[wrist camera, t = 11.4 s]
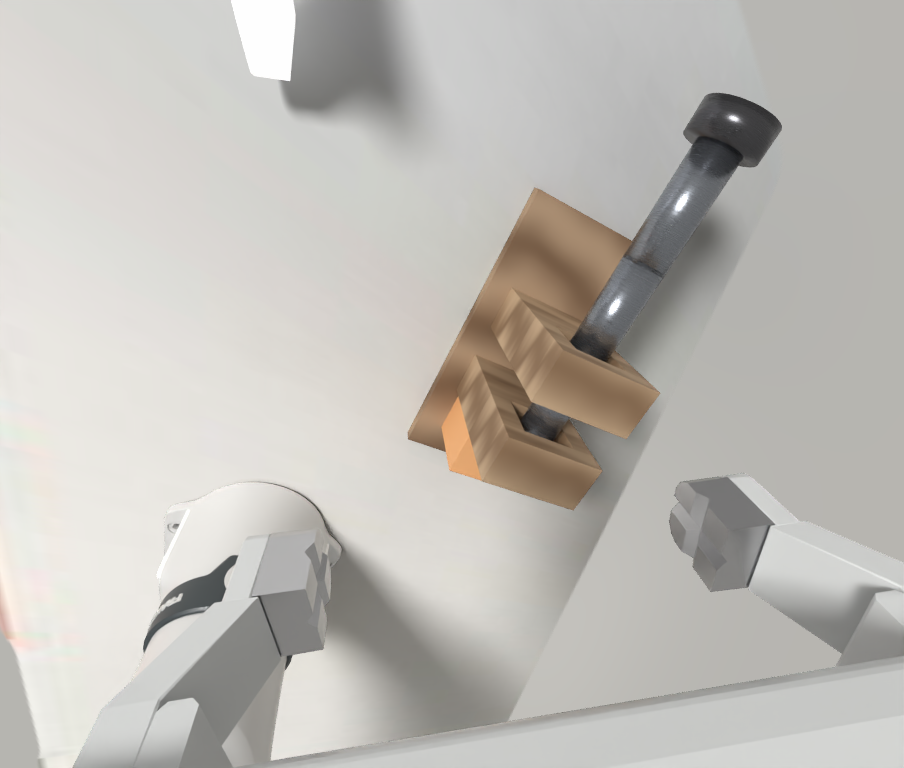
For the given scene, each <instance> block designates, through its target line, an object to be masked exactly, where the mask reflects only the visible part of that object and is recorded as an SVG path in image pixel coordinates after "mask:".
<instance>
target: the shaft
mask: <svg viewBox="0 0 904 768" xmlns="http://www.w3.org/2000/svg"><path fill="white" fill-rule="evenodd" d="M781 129H782V126H781V123H780V122H779V120H778V119H777V118H776V117H775V116H774V115H773V114H771V113H770V112H769V111H767V110H766V109H764V108H763V107H761V106H759V105H757V104H755V103H753V102H751V101H748V100H746V99H743V98H740V97H737V96H734V95H730V94H724V93H711V94H708V95H706V96H705V97H704V99H703V100H702V102H701V104H700V105H699V107H698V109H697V110H696V112H695V113H694V115H693V117H692V118H691V120H690V122H689V123H688V125H687V127H686V128H685V130H684V132H683V134H684V136H685V138H686V139H687V140H688V141H689V142H690V143H691V144H693V145H692V146H691V148H690V150H689V151H688V153H687V154H686V156H685V158H684V159H683V161H682V162H681V164H680V166H679V167H678V169H677V170H676V172H675V174H674V175H673V177H672V178H671V180H670V182H669V183H668V185H667V186H666V188H665V190H664V191H663V193H662V195H661V196H660V198H659V199H658V201H657V203H656V204H655V206H654V207H653V209H652V211H651V212H650V214H649V215H648V217H647V219H646V220H645V222H644V223H643V225H642V227H641V228H640V230H639V231H638V233H637V235H636V236H635V238H634V239H633V241H632V243H631V244H630V246H629V247H628V249H627V251H626V252H625V254H624V255H623V257H622V259H621V260H620V262H619V263H618V265H617V267H616V268H615V270H614V271H613V273H612V275H611V276H610V278H609V279H608V281H607V283H606V284H605V286H604V287H603V289H602V291H601V292H600V294H599V295H598V297H597V299H596V300H595V302H594V303H593V305H592V307H591V308H590V310H589V311H588V313H587V315H586V316H585V318H584V320H583V321H582V323H581V324H580V326H579V328H578V329H577V331H576V332H575V334H574V336H573V337H572V339H571V340H570V342H571V344H572V345H573V346H574V347H575V348H576V349H577V350H579V351H582V352H584V353H586V354H588V355H591V356H593V357H595V358H597V359H599V360H602V361H604V362H607V361H608V359H609V358H610V356H611V355H612V353H613V352H614V350H615V349H616V347H617V346H618V344H619V343H620V341H621V340H622V338H623V337H624V336H625V334H626V333H627V331H628V330H629V328H630V327H631V325H632V324H633V322H634V321H635V319H636V318H637V316H638V315H639V313H640V312H641V310H642V309H643V307H644V306H645V304H646V303H647V301H648V300H649V298H650V297H651V295H652V294H653V292H654V291H655V289H656V288H657V286H658V285H659V283H660V282H661V280H662V279H663V277H664V276H665V274H666V273H667V271H668V270H669V268H670V267H671V265H672V264H673V262H674V261H675V259H676V258H677V256H678V255H679V254H680V252H681V251H682V249H683V248H684V246H685V245H686V243H687V242H688V240H689V239H690V237H691V236H692V234H693V233H694V231H695V230H696V228H697V227H698V225H699V224H700V222H701V221H702V219H703V218H704V216H705V215H706V213H707V212H708V210H709V209H710V207H711V206H712V204H713V203H714V201H715V200H716V198H717V197H718V195H719V194H720V192H721V191H722V189H723V188H724V186H725V185H726V183H727V182H728V180H729V179H730V177H731V176H732V174H733V173H734V172H735V170H736V169H737V167H738V166H742V167H755V166H757V165H758V164H759V162H760V161H761V159H762V158H763V156H764V155H765V153H766V152H767V151H768V149H769V148H770V146H771V145H772V143H773V142H774V140H775V139H776V137H777V136H778V134H779V133H780V132H781ZM568 419H569V416H566V415H564V414H561V413H558V412H556V411H553V410H551V409H548V408H546V407H543V406H541V405H538V404H536V403H533V402H532V403H531V404H530V406H529V408H528V409H527V411H526V412H525V414H524V416H523V417H522V419H521V420H520V422H521V424H522V427H523V429H524V431H526V432H529V433H531V434H534V435H537V436H539V437H542V438H545V439H548V440H550V441H554V440H555V438H556V437H557V435H558V434H559V432H560V431H561V429H562V428H563V426H564V425H565V423H566V422H567V420H568Z"/></svg>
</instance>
